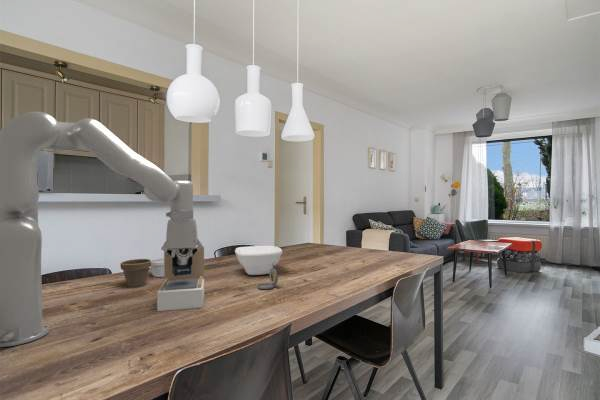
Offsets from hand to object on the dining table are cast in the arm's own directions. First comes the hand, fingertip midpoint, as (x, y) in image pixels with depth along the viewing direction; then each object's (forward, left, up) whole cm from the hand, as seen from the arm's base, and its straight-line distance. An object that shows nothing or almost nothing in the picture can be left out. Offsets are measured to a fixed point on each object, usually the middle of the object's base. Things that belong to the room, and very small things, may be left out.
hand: (182, 267), depth 116 cm
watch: (0, 0, -2) cm, 2 cm away
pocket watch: (+10, -32, -12) cm, 36 cm away
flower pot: (+27, +21, -12) cm, 36 cm away
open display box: (0, 0, -12) cm, 12 cm away
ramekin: (+44, +12, -12) cm, 47 cm away
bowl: (+35, -31, -12) cm, 48 cm away
